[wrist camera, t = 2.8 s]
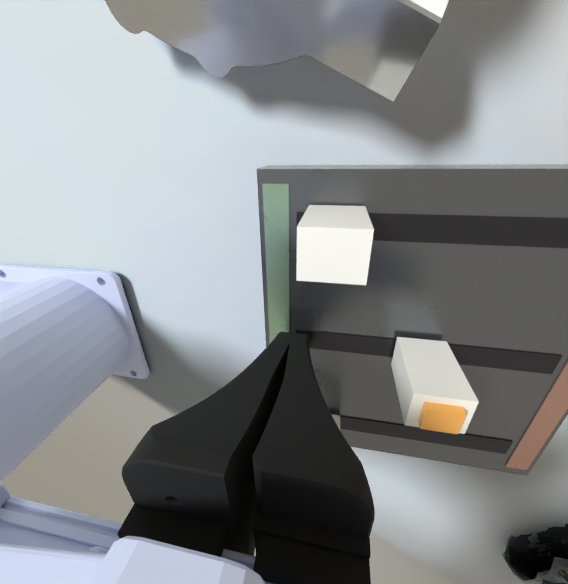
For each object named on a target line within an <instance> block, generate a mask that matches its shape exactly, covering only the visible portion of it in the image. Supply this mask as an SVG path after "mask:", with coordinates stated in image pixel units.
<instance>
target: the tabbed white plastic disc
mask: <svg viewBox="0 0 568 584" xmlns="http://www.w3.org/2000/svg"><path fill="white" fill-rule="evenodd" d="M105 1H106V3H107V5H108V7H109V9H110V11H111V13H112V14H113V16H114V17H115V19H116V20H117V21H118V22H119V23H120V25H121V26H123V27H124V28H125V29H126V30H127V31H129V32H131V33H134V34H139V33H140V32H142V31H147V32H149V33H151V34H152V35H154V36H155V37H157V38H159V39H160V40H162V41H164V42H165V43H167V44H169V45H171V46H173V47H175V48H177V49H179V50H181V51H183V52H186V53H188V54H190V55H192V56H194V57H195V58H196V59H197V60H198V62H199V63H200V65H201V66H202V67H203V69H204V70H205V71H206V72H207V73H209V74H210V75H212V76H214V77H218V78H221V77H224V76H225V75H227V74H228V73H229V71H230V70H231V69H232V68H233V67H234V66H263V65H271V64H275V63H280V62H285V61H288V60H291V59H294V58H297V57H300V56H304V55H307V56H310V57H312V58H314V59H315V60H317V61H319V62H321V63H323V64H325V65H327V66H328V67H330V68H332V69H334V70H336V71H338V72H339V73H341V74H343V75H345V76H347V77H349V78H350V79H352V80H354V81H356V82H358V83H360V84H361V85H363V86H365V87H367V88H369V89H371V90H373V91H374V92H376V93H378V94H380V95H382V96H384V97H385V98H387V99H389V100H391V101H393V102H394V100H395V98H396V97H397V95H398V93H399V92H400V90H401V88H402V87H403V85H404V83H405V82H406V80H407V78H408V77H409V75H410V73H411V72H412V70H413V68H414V67H415V65H416V63H417V62H418V60H419V58H420V57H421V55H422V53H423V51H424V50H425V48H426V46H427V45H428V43H429V41H430V40H431V38H432V36H433V35H434V33H435V31H436V30H437V28H438V26H439V25H440V22H441V20H442V17H443V15H444V12H445V9H446V7H447V4H448V1H449V0H105Z"/></svg>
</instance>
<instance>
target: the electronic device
mask: <svg viewBox="0 0 568 584" xmlns="http://www.w3.org/2000/svg"><path fill="white" fill-rule="evenodd" d="M531 535H532V534H528V535H520V536H518V537H513V536H512V535H511V537H510V539H509V540H508V543H507V547H506V551H505V552H504V553H503V554H502V555H503V557H504V558H505V560H506V562H507V563H508V565H509V567H510V569H511V570H512V572H513V573H514V574H515V575H516V576H517V577H518V578H519V579H520V580H521V581H522V582H523V583H526V584H568V560H567V558H568V557H566V558H558V557H554V561H553V562H552V561H551V560H550V559H552V558H553V557H552V556H550V555H548V553H549V552H550V550H546V551H543V552H536V551H538V550H539V549H540V548H530V547H529V546H528V545H529V544H530V542H529V540H528V537H529V536H531ZM537 535H538V540H539V542H538V543H536V544H545V543H550V542H555V541H560V540H562V539H568V524H566V525H565V527H551V528H548V530H546V531H543V532H540V533H537ZM561 544H562V542H557V543H551V544H545V547H554V546H558V545H561ZM540 554H544V555H540ZM558 555H560V554H554V555H553V556H558Z"/></svg>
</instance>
